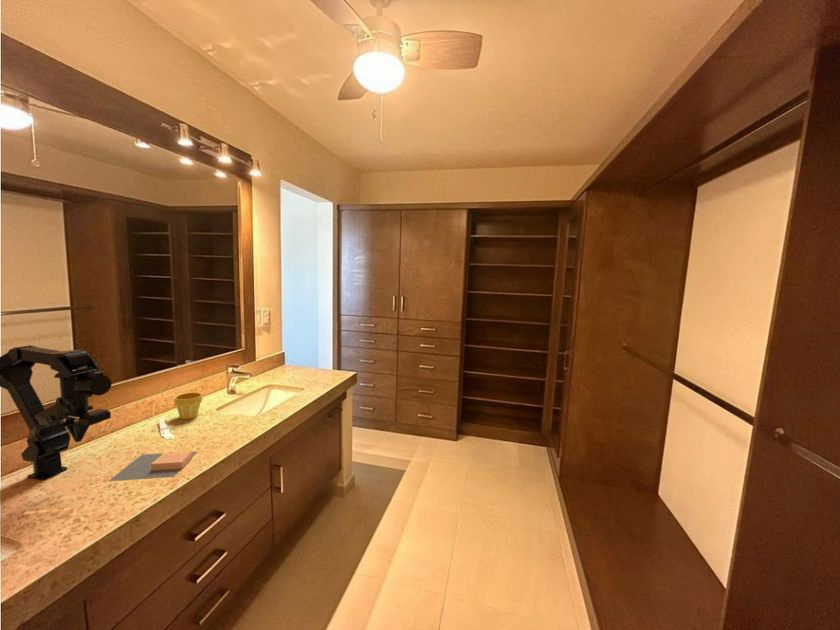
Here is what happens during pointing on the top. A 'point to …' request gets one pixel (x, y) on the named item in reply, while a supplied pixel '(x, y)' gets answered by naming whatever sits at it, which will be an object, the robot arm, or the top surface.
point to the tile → (172, 460)
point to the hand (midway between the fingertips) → (78, 441)
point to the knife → (165, 429)
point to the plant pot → (188, 404)
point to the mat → (144, 469)
